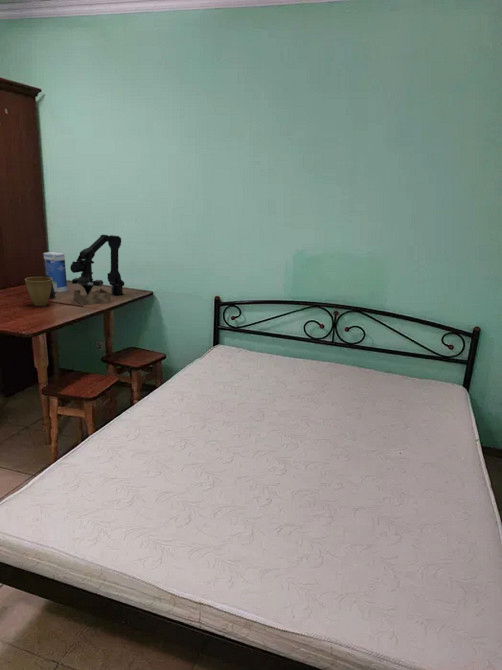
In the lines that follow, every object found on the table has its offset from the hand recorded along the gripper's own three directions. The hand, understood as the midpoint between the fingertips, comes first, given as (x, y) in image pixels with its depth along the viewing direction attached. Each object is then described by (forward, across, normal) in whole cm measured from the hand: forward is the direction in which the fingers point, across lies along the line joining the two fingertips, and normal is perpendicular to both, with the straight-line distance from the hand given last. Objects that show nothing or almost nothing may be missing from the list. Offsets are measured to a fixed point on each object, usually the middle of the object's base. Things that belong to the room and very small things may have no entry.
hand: (88, 295), depth 299 cm
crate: (+4, +3, 0) cm, 4 cm away
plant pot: (+4, -21, -19) cm, 29 cm away
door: (+3, +2, +5) cm, 6 cm away
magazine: (+4, -29, -3) cm, 30 cm away
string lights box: (+4, -34, +19) cm, 39 cm away
